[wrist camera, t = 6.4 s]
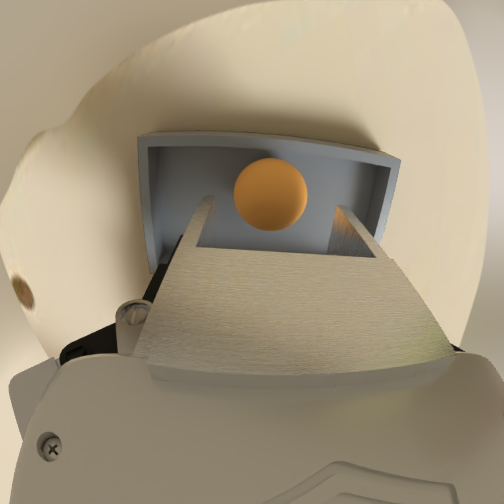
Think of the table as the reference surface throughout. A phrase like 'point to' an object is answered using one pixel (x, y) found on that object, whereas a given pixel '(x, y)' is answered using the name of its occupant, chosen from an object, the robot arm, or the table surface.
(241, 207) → the ball
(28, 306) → the table surface
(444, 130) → the table surface
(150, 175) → the tray
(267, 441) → the robot arm
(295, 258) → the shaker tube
